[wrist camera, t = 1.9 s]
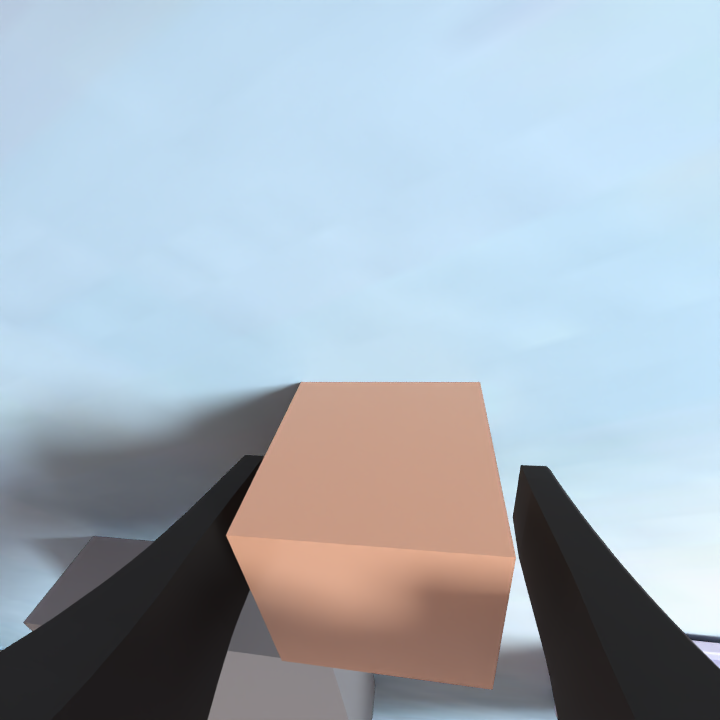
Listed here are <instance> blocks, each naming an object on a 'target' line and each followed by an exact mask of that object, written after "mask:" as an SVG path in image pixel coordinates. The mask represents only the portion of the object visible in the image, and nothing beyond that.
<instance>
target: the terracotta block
mask: <svg viewBox="0 0 720 720" xmlns="http://www.w3.org/2000/svg"><path fill="white" fill-rule="evenodd" d="M226 536H227V539H228V541H229V543H230V545H231V548H232V550H233V552H234V554H235V557H236V559H237V561H238V563H239V565H240V568H241V570H242V572H243V574H244V577H245V579H246V581H247V583H248V586H249V588H250V590H251V592H252V595H253V597H254V599H255V601H256V604H257V606H258V608H259V610H260V613H261V615H262V617H263V619H264V622H265V624H266V626H267V628H268V631H269V633H270V635H271V637H272V640H273V642H274V644H275V646H276V649H277V651H278V653H279V655H280V657H281V660H282V661H287V662H294V663H302V664H309V665H316V666H324V667H331V668H338V669H345V670H353V671H360V672H367V673H375V674H382V675H389V676H397V677H404V678H411V679H419V680H426V681H433V682H440V683H448V684H455V685H462V686H470V687H477V688H484V689H492V690H493V684H494V678H495V673H496V667H497V661H498V656H499V650H500V644H501V639H502V633H503V627H504V622H505V616H506V610H507V605H508V599H509V593H510V588H511V582H512V576H513V571H514V565H515V559H516V556H515V551H514V546H513V541H512V536H511V532H510V527H509V522H508V517H507V512H506V507H505V502H504V497H503V492H502V487H501V483H500V478H499V473H498V468H497V463H496V458H495V453H494V448H493V443H492V438H491V434H490V429H489V424H488V419H487V414H486V409H485V404H484V399H483V394H482V390H481V385H480V382H301V383H300V385H299V387H298V389H297V391H296V393H295V395H294V397H293V399H292V401H291V403H290V405H289V408H288V410H287V412H286V414H285V416H284V418H283V420H282V422H281V424H280V426H279V428H278V430H277V432H276V434H275V436H274V438H273V440H272V442H271V444H270V446H269V448H268V450H267V452H266V454H265V457H264V459H263V461H262V463H261V465H260V467H259V469H258V471H257V473H256V475H255V477H254V479H253V481H252V483H251V485H250V487H249V489H248V491H247V493H246V495H245V497H244V499H243V501H242V504H241V506H240V508H239V510H238V512H237V514H236V516H235V518H234V520H233V522H232V524H231V526H230V528H229V530H228V532H227V534H226Z"/></svg>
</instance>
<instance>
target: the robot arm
mask: <svg viewBox="0 0 720 720" xmlns="http://www.w3.org/2000/svg"><path fill="white" fill-rule="evenodd" d="M264 457H265V456H252V455H245V456H244V457H243V458H242V459H241V460H240V461H239V462H238V463H237V464H236V465H235V466H234V467H233V468H232V469H231V470H230V471H229V472H228V473H227V474H226V475H225V476H223V477H222V478H221V479H220V480H219V481H218V482H217V483H216V484H215V485H214V486H213V487H212V488H211V489H210V490H209V491H208V492H207V493H206V494H205V495H204V496H203V497H202V498H201V499H200V500H199V501H198V502H197V503H196V504H195V505H194V506H193V507H192V508H191V509H190V510H189V511H188V512H186V513H185V514H184V515H183V516H182V517H181V518H180V519H179V520H178V521H177V522H176V523H174V524H173V525H172V526H171V527H170V528H169V529H168V530H167V531H165V532H164V533H163V534H162V535H161V536H160V537H159V538H158V539H156V540H155V541H154V542H153V543H152V544H151V545H150V546H149V547H147V548H146V549H145V550H144V551H143V552H141V553H140V554H139V555H138V556H136V557H135V558H134V559H133V560H132V561H130V562H129V563H128V564H127V565H125V566H124V567H123V568H121V569H120V570H119V571H118V572H116V573H115V574H114V575H112V576H111V577H110V578H109V579H107V580H106V581H105V582H103V583H102V584H101V585H99V586H98V587H96V588H95V589H94V590H92V591H91V592H89V593H88V594H86V595H85V596H84V597H82V598H81V599H79V600H78V601H77V602H75V603H74V604H72V605H71V606H70V607H68V608H67V609H65V610H64V611H62V612H61V613H60V614H58V615H57V616H55V617H54V618H52V619H51V620H49V621H48V622H46V623H45V624H43V625H42V626H40V627H39V628H37V629H35V630H34V631H32V632H31V633H29V634H28V635H26V636H25V637H23V638H21V639H20V640H18V641H17V642H15V643H13V644H12V645H10V646H9V647H7V648H5V649H4V650H2V651H1V652H0V720H208V716H209V713H210V709H211V706H212V702H213V699H214V695H215V691H216V688H217V684H218V681H219V677H220V674H221V671H222V667H223V664H224V661H225V658H226V654H227V651H228V648H229V644H230V641H231V638H232V635H233V632H234V629H235V627H236V624H237V621H238V618H239V616H240V613H241V611H242V608H243V606H244V603H245V601H246V598H247V596H248V593H249V591H250V588H249V586H248V583H247V581H246V579H245V577H244V574H243V572H242V570H241V568H240V565H239V563H238V561H237V559H236V557H235V554H234V552H233V550H232V548H231V545H230V543H229V541H228V539H227V536H226V534H227V532H228V530H229V528H230V526H231V524H232V522H233V520H234V518H235V516H236V514H237V512H238V510H239V508H240V506H241V504H242V501H243V499H244V497H245V495H246V493H247V491H248V489H249V487H250V485H251V483H252V481H253V479H254V477H255V475H256V473H257V471H258V469H259V467H260V465H261V463H262V461H263V459H264ZM513 522H514V529H515V535H516V542H517V548H518V554H519V559H520V563H521V567H522V571H523V575H524V579H525V582H526V586H527V590H528V594H529V598H530V601H531V605H532V609H533V612H534V616H535V620H536V624H537V627H538V631H539V635H540V639H541V642H542V646H543V650H544V654H545V658H546V662H547V666H548V671H549V675H550V679H551V685H552V690H553V696H554V701H555V705H554V709H555V713H556V716H557V718H558V720H720V643H712V642H703V641H693V640H691V639H690V638H689V637H688V636H687V635H686V634H685V633H684V632H683V631H682V630H681V629H680V628H679V627H678V626H677V625H676V624H675V623H674V622H673V621H672V620H671V619H670V618H669V617H668V616H667V614H666V613H665V612H664V611H663V610H662V609H661V608H660V607H659V606H658V605H657V604H656V603H655V601H654V600H653V599H652V598H651V597H650V596H649V595H648V594H647V593H646V592H645V590H644V589H643V588H642V587H641V586H640V585H639V584H638V582H637V581H636V580H635V579H634V578H633V577H632V576H631V574H630V573H629V572H628V571H627V570H626V569H625V568H624V566H623V565H622V564H621V563H620V562H619V560H618V559H617V558H616V557H615V556H614V554H613V553H612V552H611V551H610V549H609V548H608V547H607V546H606V544H605V543H604V542H603V541H602V539H601V538H600V537H599V536H598V534H597V533H596V532H595V531H594V530H593V528H592V527H591V526H590V524H589V523H588V522H587V520H586V519H585V518H584V517H583V515H582V514H581V513H580V511H579V510H578V509H577V507H576V506H575V504H574V503H573V502H572V500H571V499H570V498H569V496H568V495H567V493H566V492H565V491H564V489H563V488H562V486H561V485H560V484H559V482H558V481H557V479H556V478H555V476H554V475H553V473H552V472H551V470H550V469H549V468H548V467H547V466H526V465H521V467H520V474H519V480H518V487H517V493H516V500H515V506H514V513H513Z"/></svg>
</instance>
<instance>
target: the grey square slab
mask: <svg viewBox="0 0 720 720" xmlns="http://www.w3.org/2000/svg"><path fill="white" fill-rule="evenodd" d="M153 542H154V541H145V540H133V539H121V538H109V537H97V536H93V537H92V538H91V540H90V541H89V542H88V543H87V545H86V546H85V547H84V548H83V550H82V551H81V552H80V553H79V554H78V556H77V557H76V558H75V559H74V561H73V562H72V563H71V564H70V566H69V567H68V568H67V569H66V570H65V572H64V573H63V574H62V575H61V577H60V578H59V579H58V580H57V582H56V583H55V584H54V585H53V587H52V588H51V589H50V590H49V591H48V593H47V594H46V595H45V596H44V598H43V599H42V600H41V601H40V603H39V604H38V605H37V606H36V607H35V609H34V610H33V611H32V612H31V614H30V615H29V616H28V617H27V619H26V620H25V621H24V622H23V623H24V624H25V625H26V626H27V627H29V628H30V629H31V630H32V631H34V630H35V629H37V628H39V627H40V626H42V625H43V624H45V623H46V622H48V621H49V620H51V619H52V618H54V617H55V616H57V615H58V614H60V613H61V612H62V611H64V610H65V609H67V608H68V607H70V606H71V605H72V604H74V603H75V602H77V601H78V600H79V599H81V598H82V597H84V596H85V595H86V594H88V593H89V592H91V591H92V590H94V589H95V588H96V587H98V586H99V585H101V584H102V583H103V582H105V581H106V580H107V579H109V578H110V577H111V576H112V575H114V574H115V573H116V572H118V571H119V570H120V569H121V568H123V567H124V566H125V565H127V564H128V563H129V562H130V561H132V560H133V559H134V558H135V557H136V556H138V555H139V554H140V553H141V552H143V551H144V550H145V549H146V548H147V547H149V546H150V545H151V544H152V543H153ZM374 694H375V681H374V676H373V673H367V672H360V671H353V670H345V669H338V668H331V667H324V666H316V665H309V664H302V663H294V662H287V661H282V660H281V657H280V655H279V653H278V651H277V649H276V646H275V644H274V642H273V640H272V637H271V635H270V633H269V631H268V628H267V626H266V624H265V622H264V619H263V617H262V615H261V613H260V610H259V608H258V606H257V604H256V601H255V599H254V597H253V595H252V592H251V590H250V591H249V593H248V596H247V598H246V601H245V603H244V606H243V608H242V611H241V613H240V616H239V618H238V621H237V624H236V627H235V629H234V632H233V635H232V638H231V641H230V644H229V648H228V651H227V654H226V658H225V661H224V664H223V667H222V671H221V674H220V677H219V681H218V684H217V688H216V691H215V695H214V699H213V702H212V706H211V709H210V713H209V716H208V720H372V715H373V705H374Z"/></svg>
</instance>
